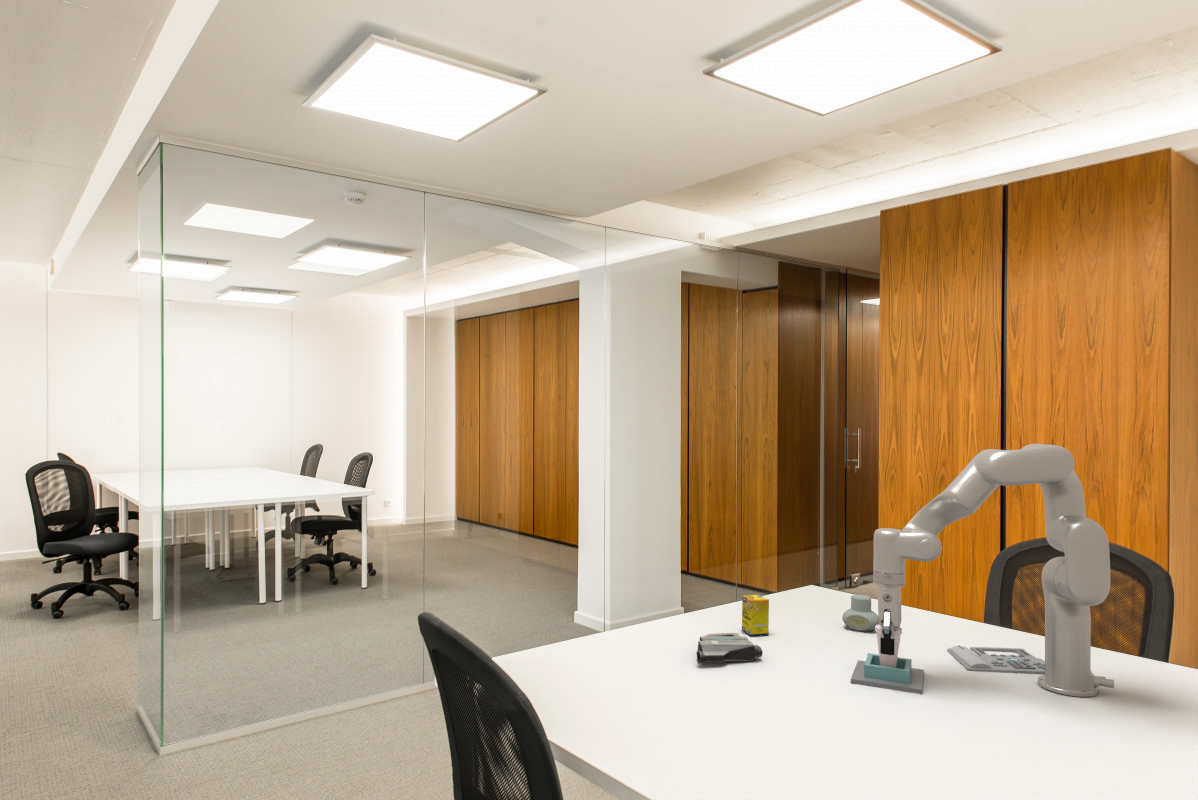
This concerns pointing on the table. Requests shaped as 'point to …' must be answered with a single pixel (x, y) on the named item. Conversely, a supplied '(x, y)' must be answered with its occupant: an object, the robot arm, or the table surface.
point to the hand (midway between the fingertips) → (888, 649)
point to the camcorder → (726, 648)
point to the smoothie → (892, 659)
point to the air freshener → (860, 614)
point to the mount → (888, 674)
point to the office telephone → (997, 660)
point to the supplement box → (755, 615)
